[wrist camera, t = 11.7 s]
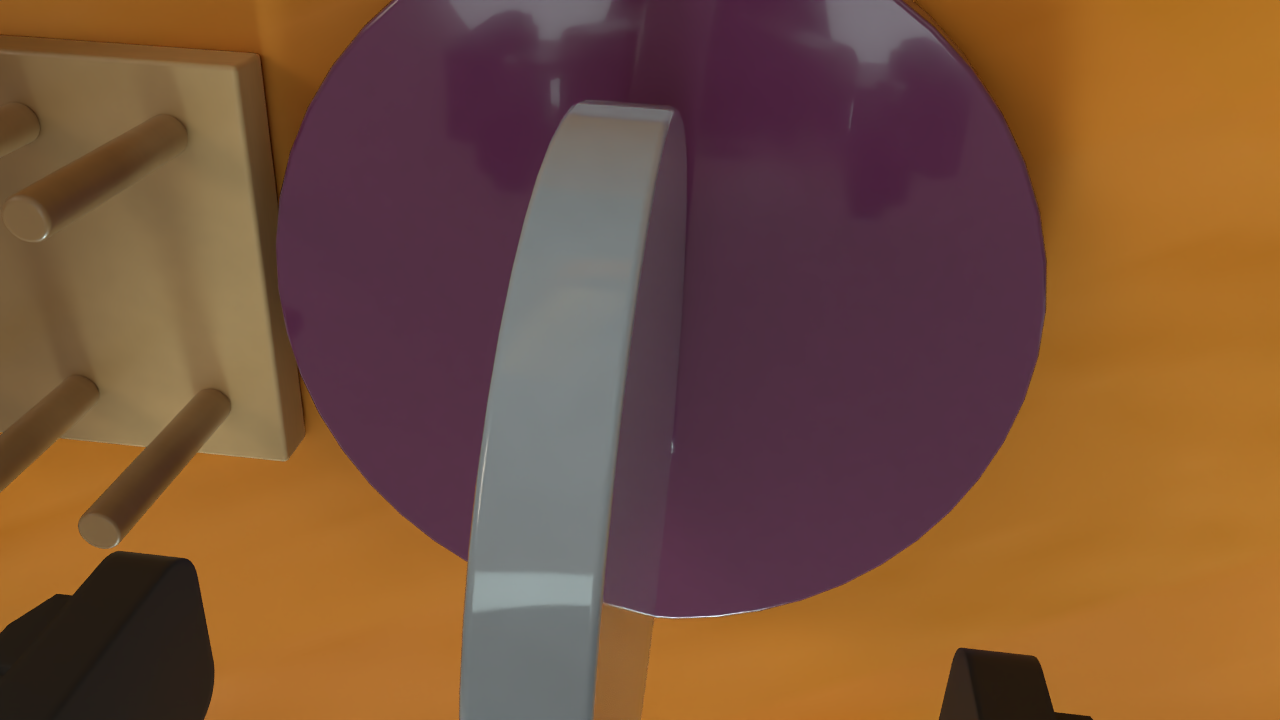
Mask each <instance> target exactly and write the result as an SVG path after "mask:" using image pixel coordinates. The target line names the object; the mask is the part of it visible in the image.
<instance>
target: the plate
mask: <svg viewBox="0 0 1280 720" xmlns="http://www.w3.org/2000/svg"><path fill="white" fill-rule="evenodd" d="M686 212H687V157H686V139H685V131H684V124H683V121H682V118H681V114H680V111H679V110H677V109H676V108H674V107H672V106H669V105H656V104H642V103H628V102H615V101H601V100H587V99H586V100H584V101H581V102H579V103H577V104H575V105H573V106H571V108H570V109H569V110H568V112H567V113H566V114H565V115H564V117H563V118H562V119H561V121H560V123H559V125H558V127H557V129H556V131H555V133H554V135H553V137H552V139H551V141H550V143H549V146H548V148H547V151H546V153H545V156H544V159H543V161H542V164H541V167H540V169H539V172H538V175H537V177H536V180H535V184H534V187H533V190H532V194H531V197H530V200H529V204H528V207H527V210H526V214H525V217H524V221H523V224H522V228H521V233H520V237H519V241H518V245H517V249H516V253H515V257H514V261H513V265H512V269H511V274H510V278H509V283H508V288H507V293H506V298H505V303H504V308H503V313H502V318H501V323H500V328H499V333H498V338H497V344H496V350H495V356H494V362H493V368H492V374H491V380H490V386H489V392H488V398H487V404H486V411H485V418H484V425H483V433H482V440H481V447H480V454H479V462H478V469H477V476H476V486H475V495H474V504H473V513H472V522H471V531H470V540H469V550H468V562H467V575H466V587H465V600H464V612H463V627H462V647H461V667H460V688H459V720H641V715H642V708H643V701H644V693H645V686H646V678H647V670H648V663H649V655H650V647H651V639H652V630H653V622H654V614H655V605H656V596H657V588H658V579H659V570H660V561H661V551H662V542H663V532H664V523H665V513H666V503H667V493H668V482H669V472H670V461H671V450H672V439H673V427H674V415H675V403H676V391H677V378H678V365H679V351H680V336H681V321H682V304H683V287H684V267H685V244H686Z"/></svg>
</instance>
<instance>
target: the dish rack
mask: <svg viewBox="0 0 1280 720" xmlns="http://www.w3.org/2000/svg"><path fill="white" fill-rule="evenodd" d="M277 221H278V202H277V194H276V186H275V177H274V169H273V161H272V152H271V144H270V136H269V127H268V119H267V111H266V102H265V94H264V86H263V78H262V69H261V61H260V57H259V55H258V54H255V53H245V52H231V51H217V50H204V49H190V48H176V47H162V46H148V45H134V44H120V43H106V42H92V41H78V40H65V39H51V38H37V37H23V36H9V35H0V432H3V433H2V434H1V435H0V492H1V491H3V490H4V489H5V488H6V487H7V486H8V485H9V484H10V483H11V482H12V481H13V480H14V479H16V478H17V477H18V476H19V475H20V474H21V473H22V472H23V471H24V470H25V469H26V468H27V467H29V466H30V465H31V464H32V463H33V462H34V461H35V460H36V459H37V458H38V457H39V456H40V455H42V454H43V453H44V452H45V451H46V450H47V449H48V448H49V447H50V446H51V445H52V444H53V443H55V442H56V441H57V440H58V439H59V438H63V439H73V440H83V441H92V442H102V443H111V444H121V445H131V446H140V447H146V448H145V449H144V450H143V451H142V452H141V454H140V455H139V456H138V457H137V458H136V459H135V460H134V461H133V462H132V463H131V464H130V465H129V466H128V467H127V468H126V469H125V471H124V472H123V473H122V474H121V475H120V476H119V477H118V478H117V479H116V480H115V481H114V482H113V483H112V484H111V485H110V486H109V488H108V489H107V490H106V491H105V492H104V493H103V494H102V495H101V496H100V497H99V498H98V499H97V500H96V501H95V502H94V503H93V505H92V506H91V507H90V508H89V509H88V510H87V511H86V512H85V513H84V514H83V515H82V516H81V518H80V519H79V523H78V529H79V532H80V534H81V536H82V537H83V538H84V539H85V540H86V541H87V542H88V543H89V544H91V545H93V546H95V547H98V548H103V549H108V548H112V547H115V546H117V545H118V544H119V543H120V542H121V541H122V539H123V538H124V537H125V536H126V535H127V534H128V532H129V531H130V530H131V529H132V528H133V527H134V525H135V524H136V523H137V522H138V521H139V520H140V518H141V517H142V516H143V515H144V514H145V513H146V511H147V510H148V509H149V508H150V507H151V506H152V504H153V503H154V502H155V501H156V500H157V499H158V497H159V496H160V495H161V494H162V493H163V492H164V490H165V489H166V488H167V487H168V486H169V485H170V484H171V482H172V481H173V480H174V479H175V478H176V477H177V475H178V474H179V473H180V472H181V471H182V470H183V468H184V467H185V466H186V465H187V464H188V463H189V461H190V460H191V459H192V458H193V457H194V456H195V454H196V453H197V452H198V453H208V454H218V455H227V456H237V457H247V458H256V459H266V460H276V461H287V460H288V459H289V458H290V457H291V455H292V454H293V452H294V451H295V450H296V448H297V447H298V445H299V444H300V443H301V441H302V440H303V438H304V437H305V427H304V418H303V410H302V402H301V393H300V385H299V377H298V369H297V363H296V360H295V357H294V354H293V351H292V348H291V345H290V342H289V339H288V336H287V332H286V327H285V322H284V317H283V312H282V307H281V301H280V296H279V291H278V278H277V260H276V233H277Z"/></svg>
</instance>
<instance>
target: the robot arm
mask: <svg viewBox="0 0 1280 720" xmlns="http://www.w3.org/2000/svg"><path fill="white" fill-rule="evenodd" d="M213 686H214V661H213V656H212V651H211V645H210V640H209V635H208V630H207V624H206V619H205V614H204V608H203V603H202V598H201V592H200V587H199V582H198V577H197V573H196V569H195V567H194V565H193V564H192V562H191V561H189V560H188V559H185V558H177V557H169V556H160V555H151V554H142V553H133V552H124V551H117V552H114V553H111V554H110V555H109V556H107V557H106V558H105V559H104V560H103V561H102V562H101V563H100V564H99V565H98V567H97V568H96V569H95V570H94V571H93V572H92V574H91V575H90V576H89V577H88V578H87V579H86V581H85V582H84V583H83V584H82V585H81V586H80V587H79V589H78V590H77V591H76V592H75V593H74V594H73V596H71V595H63V594H56V595H54V596H53V597H51V598H50V599H48V600H46V601H45V602H43V603H42V604H40V605H39V606H37V607H35V608H34V609H32V610H31V611H29V612H28V613H26V614H25V615H23V616H21V617H20V618H18V619H17V620H15V621H14V622H12V623H10V624H9V625H8V626H7V627H6V628H5V629H4V630H3V631H2V632H1V633H0V720H204V718H205V715H206V713H207V710H208V707H209V704H210V701H211V697H212V692H213ZM939 720H1093V719H1092V718H1091V717H1090V716H1083V715H1074V714H1065V713H1057V712H1054V710H1053V706H1052V703H1051V699H1050V696H1049V692H1048V689H1047V685H1046V681H1045V678H1044V674H1043V671H1042V668H1041V665H1040V663H1039V661H1038V659H1037V658H1036V657H1034V656H1030V655H1021V654H1012V653H1003V652H994V651H985V650H977V649H968V648H959V649H958V650H957V651H956V653H955V656H954V658H953V662H952V666H951V670H950V674H949V679H948V683H947V687H946V691H945V696H944V700H943V704H942V708H941V713H940V717H939Z"/></svg>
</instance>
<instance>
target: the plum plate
mask: <svg viewBox="0 0 1280 720" xmlns="http://www.w3.org/2000/svg"><path fill="white" fill-rule="evenodd" d="M586 99H587V100H601V101H615V102H628V103H642V104H656V105H669V106H672V107H674V108H676V109H677V110H679V111H680V114H681V118H682V121H683V124H684V131H685V139H686V157H687V212H686V244H685V267H684V287H683V304H682V321H681V336H680V351H679V365H678V378H677V391H676V403H675V415H674V427H673V439H672V450H671V461H670V472H669V482H668V493H667V503H666V513H665V523H664V532H663V542H662V551H661V561H660V570H659V579H658V588H657V596H656V605H655V614H654V617H655V618H671V619H681V618H706V617H721V616H728V615H735V614H742V613H749V612H756V611H762V610H766V609H770V608H773V607H777V606H781V605H785V604H789V603H793V602H797V601H801V600H804V599H806V598H809V597H812V596H814V595H817V594H820V593H822V592H825V591H828V590H830V589H833V588H836V587H838V586H841V585H843V584H845V583H847V582H849V581H851V580H853V579H855V578H857V577H859V576H861V575H863V574H865V573H867V572H868V571H870V570H872V569H874V568H876V567H878V566H880V565H882V564H883V563H885V562H886V561H888V560H889V559H891V558H892V557H894V556H895V555H897V554H898V553H900V552H901V551H903V550H904V549H905V548H907V547H908V546H910V545H911V544H913V543H914V542H916V541H917V540H918V539H919V538H921V537H922V536H923V535H924V534H925V533H926V532H928V531H929V530H930V529H931V528H932V527H933V526H934V525H936V524H937V523H938V522H939V521H940V520H941V519H942V518H944V517H945V516H946V515H947V514H948V513H949V512H950V511H951V510H952V509H953V508H954V507H955V506H956V505H957V503H958V502H959V501H960V500H961V499H962V498H963V497H964V495H965V494H966V493H967V492H968V491H969V490H970V489H971V488H972V486H973V485H974V484H975V483H976V482H977V481H978V480H979V478H980V477H981V475H982V474H983V472H984V471H985V469H986V468H987V466H988V465H989V463H990V462H991V460H992V459H993V458H994V456H995V455H996V453H997V452H998V450H999V449H1000V447H1001V446H1002V444H1003V443H1004V441H1005V439H1006V437H1007V435H1008V433H1009V431H1010V429H1011V427H1012V424H1013V422H1014V420H1015V418H1016V416H1017V414H1018V412H1019V410H1020V408H1021V406H1022V404H1023V402H1024V400H1025V397H1026V393H1027V390H1028V387H1029V384H1030V381H1031V378H1032V375H1033V372H1034V368H1035V365H1036V362H1037V359H1038V356H1039V350H1040V344H1041V338H1042V332H1043V326H1044V319H1045V313H1046V284H1047V259H1046V251H1045V244H1044V237H1043V230H1042V222H1041V215H1040V210H1039V207H1038V203H1037V200H1036V196H1035V193H1034V190H1033V186H1032V183H1031V179H1030V176H1029V173H1028V169H1027V166H1026V163H1025V160H1024V158H1023V156H1022V154H1021V152H1020V150H1019V148H1018V145H1017V143H1016V141H1015V139H1014V137H1013V135H1012V133H1011V130H1010V128H1009V126H1008V124H1007V122H1006V120H1005V118H1004V115H1003V114H1002V112H1001V110H1000V109H999V107H998V105H997V104H996V102H995V100H994V99H993V97H992V96H991V94H990V93H989V91H988V90H987V88H986V87H985V85H984V84H983V82H982V81H981V79H980V78H979V76H978V75H977V73H976V72H975V70H974V69H973V67H972V65H971V64H970V62H969V61H968V59H967V58H966V56H965V55H964V53H963V52H962V51H961V50H960V49H959V48H958V47H957V45H956V44H955V43H954V42H953V41H952V40H951V39H950V38H949V37H948V35H947V34H946V33H945V32H944V31H943V30H942V29H941V28H940V27H939V25H938V24H937V23H936V22H935V21H934V20H933V19H932V18H931V17H930V15H929V14H928V13H927V12H926V11H924V10H923V9H922V8H921V7H920V6H918V5H917V4H916V3H915V2H914V1H912V0H392V1H391V2H390V3H389V4H387V5H386V6H385V7H384V8H383V9H382V10H381V11H380V12H379V13H378V14H377V15H375V16H374V17H373V18H372V19H371V20H370V21H369V22H368V23H367V24H366V25H365V26H364V27H363V28H362V29H361V30H360V32H359V33H358V34H357V35H356V37H355V38H354V39H353V40H352V41H351V43H350V44H349V45H348V46H347V48H346V49H345V50H344V51H343V53H342V54H341V55H340V56H339V58H338V59H337V60H336V61H335V63H334V64H333V65H332V67H331V68H330V70H329V72H328V73H327V75H326V77H325V79H324V80H323V82H322V84H321V86H320V87H319V89H318V91H317V92H316V94H315V96H314V98H313V99H312V101H311V103H310V104H309V106H308V108H307V110H306V113H305V116H304V118H303V121H302V123H301V126H300V128H299V131H298V133H297V136H296V138H295V141H294V143H293V146H292V148H291V151H290V154H289V159H288V163H287V167H286V172H285V176H284V180H283V184H282V189H281V193H280V197H279V209H278V221H277V233H276V260H277V278H278V291H279V296H280V301H281V307H282V312H283V317H284V322H285V327H286V332H287V336H288V339H289V342H290V345H291V348H292V351H293V354H294V357H295V360H296V363H297V366H298V369H299V372H300V374H301V377H302V379H303V381H304V383H305V385H306V387H307V389H308V391H309V393H310V395H311V397H312V400H313V402H314V404H315V406H316V408H317V410H318V412H319V414H320V416H321V417H322V419H323V420H324V422H325V423H326V425H327V427H328V428H329V430H330V431H331V433H332V435H333V436H334V438H335V439H336V441H337V442H338V444H339V446H340V447H341V449H342V450H343V451H344V453H345V454H346V455H347V456H348V458H349V459H350V460H351V461H352V463H353V464H354V465H355V466H356V468H357V469H358V470H359V471H360V472H361V474H362V475H363V476H364V477H365V479H366V480H367V481H368V482H369V484H370V485H371V486H372V487H373V488H375V489H376V490H377V491H378V492H379V493H380V494H381V495H382V496H383V497H384V498H385V499H386V500H387V501H388V502H389V503H390V504H391V505H392V506H393V507H394V508H395V509H396V510H397V511H398V512H399V513H400V514H401V515H402V516H404V517H405V518H406V519H407V520H409V521H410V522H411V523H412V524H414V525H415V526H416V527H417V528H419V529H420V530H421V531H422V532H424V533H425V534H426V535H427V536H429V537H430V538H431V539H432V540H434V541H435V542H437V543H438V544H440V545H442V546H443V547H445V548H446V549H448V550H449V551H451V552H453V553H454V554H456V555H457V556H459V557H460V558H462V559H464V560H465V561H467V562H468V550H469V540H470V531H471V522H472V513H473V504H474V495H475V486H476V476H477V469H478V462H479V454H480V447H481V440H482V433H483V425H484V418H485V411H486V404H487V398H488V392H489V386H490V380H491V374H492V368H493V362H494V356H495V350H496V344H497V338H498V333H499V328H500V323H501V318H502V313H503V308H504V303H505V298H506V293H507V288H508V283H509V278H510V274H511V269H512V265H513V261H514V257H515V253H516V249H517V245H518V241H519V237H520V233H521V228H522V224H523V221H524V217H525V214H526V210H527V207H528V204H529V200H530V197H531V194H532V190H533V187H534V184H535V180H536V177H537V175H538V172H539V169H540V167H541V164H542V161H543V159H544V156H545V153H546V151H547V148H548V146H549V143H550V141H551V139H552V137H553V135H554V133H555V131H556V129H557V127H558V125H559V123H560V121H561V119H562V118H563V117H564V115H565V114H566V113H567V112H568V110H569V109H570V108H571V106H573V105H575V104H577V103H579V102H581V101H584V100H586Z"/></svg>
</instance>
